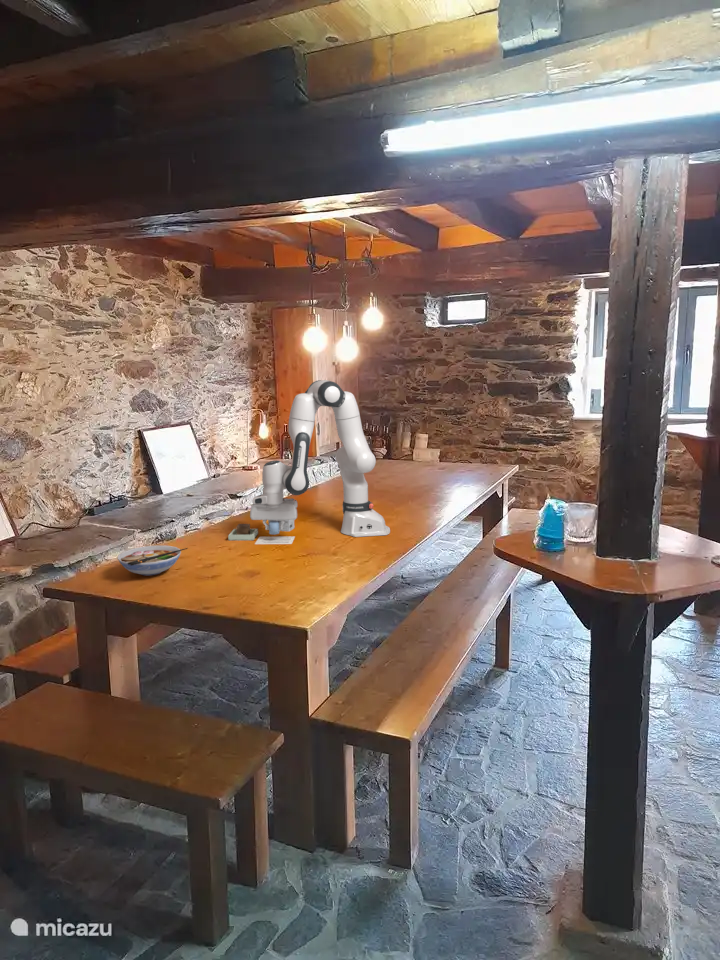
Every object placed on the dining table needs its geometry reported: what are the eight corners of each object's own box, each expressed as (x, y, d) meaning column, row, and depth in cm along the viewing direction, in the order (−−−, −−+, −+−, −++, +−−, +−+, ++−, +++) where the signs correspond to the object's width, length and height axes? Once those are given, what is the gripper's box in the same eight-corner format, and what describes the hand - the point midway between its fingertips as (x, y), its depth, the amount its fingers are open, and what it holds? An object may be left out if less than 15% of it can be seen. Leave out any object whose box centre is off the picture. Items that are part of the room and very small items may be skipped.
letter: (295, 536, 294) (295, 536, 293) (291, 544, 282) (291, 543, 282) (259, 537, 294) (259, 536, 294) (254, 544, 282) (254, 544, 282)
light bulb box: (294, 528, 308) (294, 505, 306) (289, 532, 302) (288, 509, 300) (273, 527, 311) (272, 504, 309) (268, 530, 305) (267, 507, 303)
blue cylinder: (280, 531, 289) (279, 520, 288) (278, 534, 285) (278, 523, 284) (270, 531, 289) (269, 520, 288) (268, 534, 285) (268, 523, 284)
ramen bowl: (161, 559, 264) (160, 539, 262) (197, 570, 249) (196, 549, 248) (103, 575, 245) (101, 554, 243) (138, 588, 230) (136, 565, 229)
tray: (258, 534, 299) (257, 528, 299) (253, 540, 288) (253, 535, 288) (234, 534, 299) (233, 528, 299) (228, 540, 289) (228, 535, 288)
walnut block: (250, 534, 296) (249, 523, 295) (248, 537, 291) (247, 526, 290) (239, 534, 296) (238, 523, 295) (236, 537, 291) (236, 526, 290)
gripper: (298, 496, 287) (298, 527, 290) (251, 496, 288) (252, 527, 290) (296, 499, 281) (297, 531, 283) (248, 499, 281) (249, 531, 284)
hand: (274, 529), depth 287 cm, fingers closed on blue cylinder, 4 cm apart
